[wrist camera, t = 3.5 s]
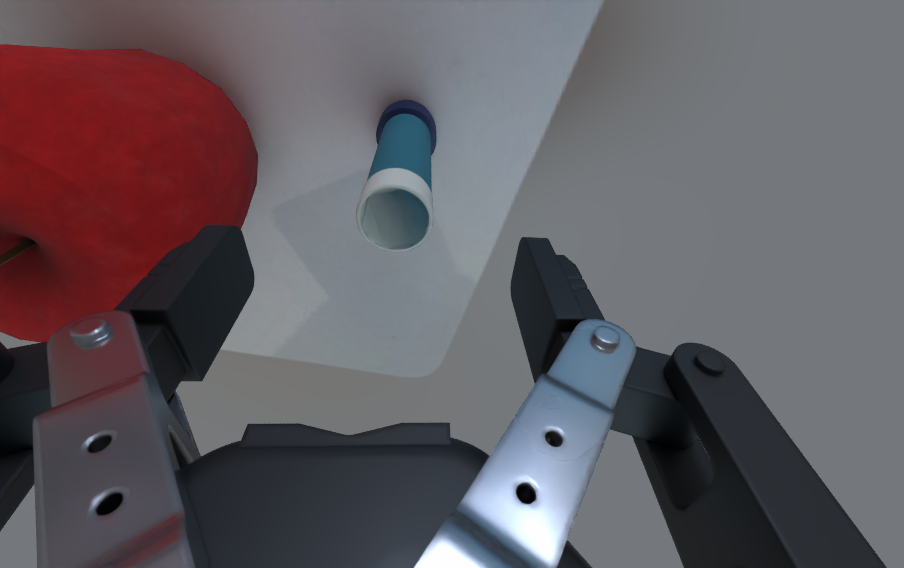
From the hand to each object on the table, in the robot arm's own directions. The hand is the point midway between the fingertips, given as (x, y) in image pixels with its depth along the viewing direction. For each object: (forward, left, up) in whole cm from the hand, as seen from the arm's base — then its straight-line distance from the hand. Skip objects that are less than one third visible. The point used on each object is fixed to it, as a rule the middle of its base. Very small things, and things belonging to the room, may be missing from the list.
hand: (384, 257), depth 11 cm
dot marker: (0, 0, -13) cm, 13 cm away
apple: (+12, +1, -13) cm, 18 cm away
